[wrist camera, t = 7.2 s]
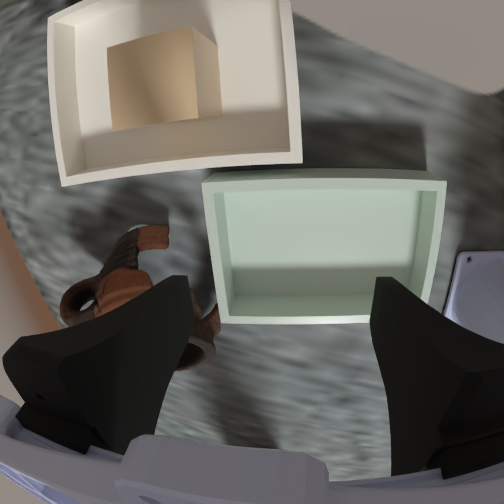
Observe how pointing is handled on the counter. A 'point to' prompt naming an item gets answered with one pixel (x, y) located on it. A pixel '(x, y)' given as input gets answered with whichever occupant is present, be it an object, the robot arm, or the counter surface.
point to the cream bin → (186, 131)
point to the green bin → (319, 240)
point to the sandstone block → (163, 79)
